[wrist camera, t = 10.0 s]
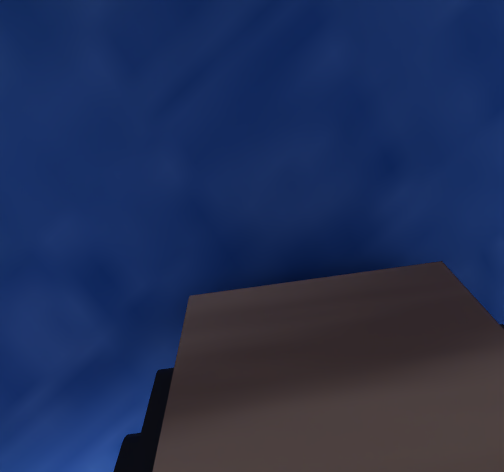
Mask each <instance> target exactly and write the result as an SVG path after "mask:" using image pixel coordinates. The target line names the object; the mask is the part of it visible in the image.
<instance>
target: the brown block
mask: <svg viewBox="0 0 504 472" xmlns="http://www.w3.org/2000/svg"><path fill="white" fill-rule="evenodd" d="M153 472H504V329H503V328H502V327H501V326H500V325H499V324H498V322H497V321H496V320H495V319H494V318H493V317H492V316H491V315H490V314H489V313H488V311H487V310H486V309H485V308H484V307H483V306H482V305H481V304H480V303H479V302H478V300H477V299H476V298H475V297H474V296H473V295H472V294H471V293H470V292H469V291H468V289H467V288H466V287H465V286H464V285H463V284H462V283H461V282H460V281H459V280H458V278H457V277H456V276H455V275H454V274H453V273H452V272H451V271H450V270H449V269H448V267H447V266H446V265H445V264H444V263H443V262H442V261H439V262H432V263H425V264H417V265H410V266H403V267H396V268H388V269H381V270H374V271H366V272H359V273H352V274H345V275H337V276H330V277H323V278H315V279H308V280H301V281H294V282H286V283H279V284H272V285H264V286H257V287H250V288H243V289H235V290H228V291H221V292H213V293H206V294H199V295H192V296H189V299H188V304H187V309H186V314H185V319H184V323H183V328H182V333H181V338H180V343H179V347H178V352H177V357H176V362H175V367H174V371H173V376H172V381H171V386H170V390H169V395H168V400H167V405H166V410H165V414H164V419H163V424H162V429H161V434H160V438H159V443H158V448H157V453H156V458H155V462H154V467H153Z"/></svg>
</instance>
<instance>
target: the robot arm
mask: <svg viewBox="0 0 504 472" xmlns="http://www.w3.org/2000/svg"><path fill="white" fill-rule="evenodd" d="M500 326H501V327H502V328H503V329H504V325H503V324H500ZM173 371H174V368H169V369H161V370H158V371H157V373H156V377H155V381H154V385H153V389H152V392H151V396H150V400H149V404H148V408H147V412H146V415H145V419H144V423H143V427H142V431H141V433H136V434H128V435H127V436H126V437H125V438H124V440H123V443H122V445H121V449H120V452H119V455H118V459H117V462H116V465H115V469H114V472H153V467H154V462H155V458H156V453H157V448H158V443H159V438H160V434H161V429H162V424H163V419H164V414H165V410H166V405H167V400H168V395H169V390H170V386H171V381H172V376H173Z"/></svg>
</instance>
